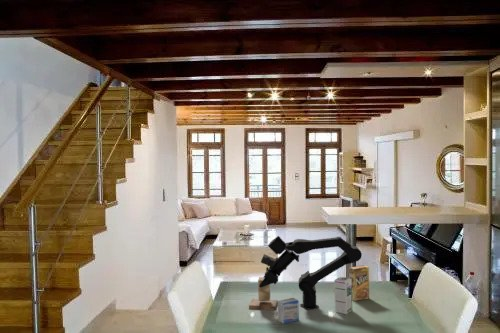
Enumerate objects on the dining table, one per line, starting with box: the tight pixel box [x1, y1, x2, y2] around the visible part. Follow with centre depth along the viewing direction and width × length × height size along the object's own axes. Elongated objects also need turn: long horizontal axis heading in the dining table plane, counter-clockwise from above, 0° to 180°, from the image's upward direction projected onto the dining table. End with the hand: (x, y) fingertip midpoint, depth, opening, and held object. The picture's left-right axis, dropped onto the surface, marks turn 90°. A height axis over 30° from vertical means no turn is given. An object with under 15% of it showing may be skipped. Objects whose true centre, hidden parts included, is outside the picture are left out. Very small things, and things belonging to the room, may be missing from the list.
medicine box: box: [277, 297, 300, 325], centre depth 184 cm, size 8×4×9 cm, turn 118°
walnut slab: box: [248, 298, 278, 311], centre depth 202 cm, size 12×9×2 cm
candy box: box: [348, 264, 370, 302], centre depth 210 cm, size 9×4×15 cm, turn 113°
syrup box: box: [333, 276, 353, 315], centre depth 193 cm, size 6×6×14 cm
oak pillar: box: [257, 276, 271, 301], centre depth 202 cm, size 5×5×10 cm
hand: (260, 285), depth 202 cm, fingers closed on oak pillar, 5 cm apart
